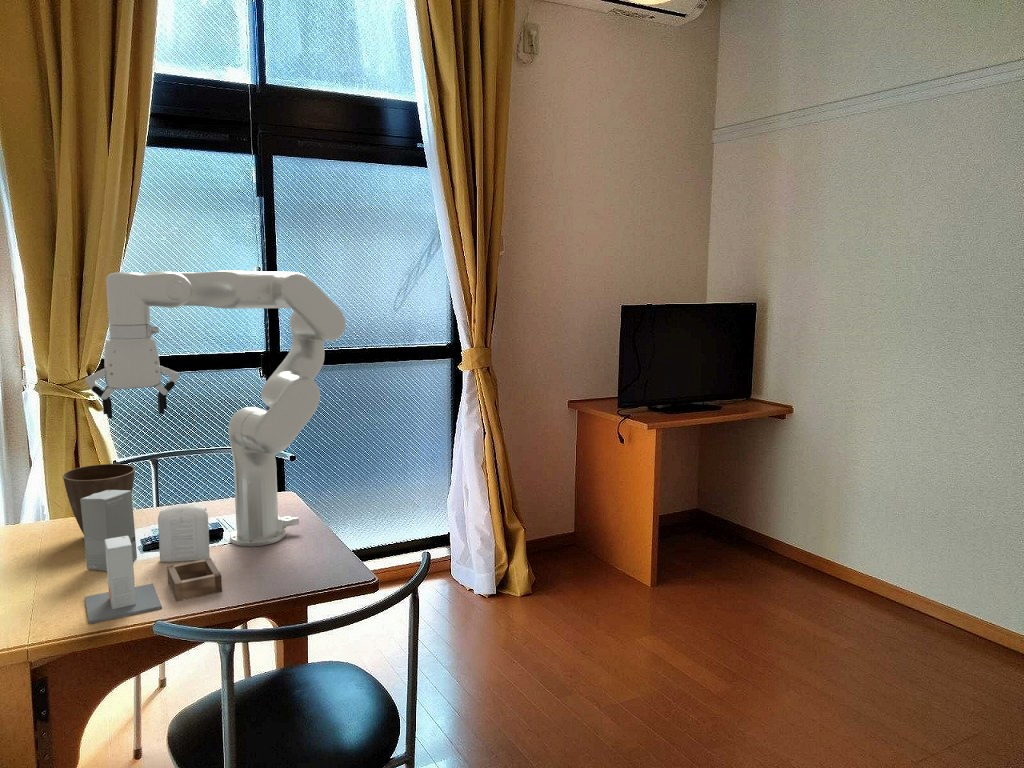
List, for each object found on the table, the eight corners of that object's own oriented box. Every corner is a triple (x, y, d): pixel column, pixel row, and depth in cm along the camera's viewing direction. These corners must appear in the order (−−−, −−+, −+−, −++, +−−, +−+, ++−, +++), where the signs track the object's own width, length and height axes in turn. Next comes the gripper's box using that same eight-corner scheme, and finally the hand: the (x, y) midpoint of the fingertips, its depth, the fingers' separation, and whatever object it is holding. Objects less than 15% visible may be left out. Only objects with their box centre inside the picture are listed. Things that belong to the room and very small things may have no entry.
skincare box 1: (112, 573, 156) (106, 500, 154) (82, 570, 157) (77, 498, 155) (139, 558, 164) (135, 489, 162) (111, 555, 165) (106, 486, 163)
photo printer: (211, 553, 167) (208, 500, 165) (208, 560, 163) (205, 506, 161) (162, 556, 165) (159, 503, 163) (158, 564, 161) (154, 509, 159)
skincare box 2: (108, 598, 143) (104, 538, 141) (133, 593, 145) (129, 534, 143) (111, 610, 138) (106, 548, 136) (136, 605, 140) (132, 544, 138)
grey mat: (153, 585, 150) (153, 583, 150) (161, 608, 140) (161, 605, 140) (84, 599, 143) (84, 596, 143) (89, 623, 133) (88, 621, 133)
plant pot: (136, 522, 187) (132, 460, 185) (141, 540, 175) (137, 474, 172) (67, 532, 180) (62, 468, 177) (68, 552, 167) (62, 483, 165)
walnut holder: (211, 573, 156) (210, 557, 155) (222, 591, 147) (221, 575, 147) (168, 582, 151) (167, 566, 151) (176, 601, 143) (175, 584, 142)
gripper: (173, 330, 159) (178, 408, 162) (80, 333, 150) (87, 416, 152) (179, 333, 153) (183, 414, 155) (83, 336, 144) (89, 422, 146)
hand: (136, 415), depth 154 cm, fingers open, 9 cm apart
